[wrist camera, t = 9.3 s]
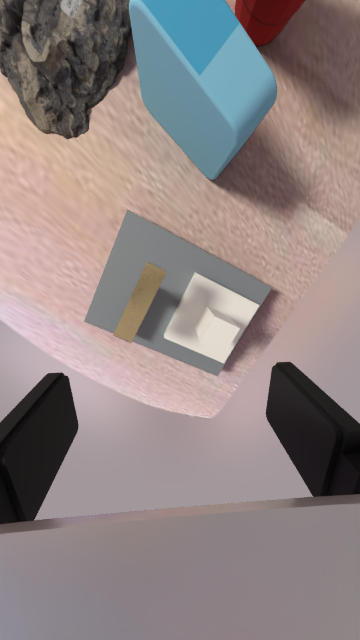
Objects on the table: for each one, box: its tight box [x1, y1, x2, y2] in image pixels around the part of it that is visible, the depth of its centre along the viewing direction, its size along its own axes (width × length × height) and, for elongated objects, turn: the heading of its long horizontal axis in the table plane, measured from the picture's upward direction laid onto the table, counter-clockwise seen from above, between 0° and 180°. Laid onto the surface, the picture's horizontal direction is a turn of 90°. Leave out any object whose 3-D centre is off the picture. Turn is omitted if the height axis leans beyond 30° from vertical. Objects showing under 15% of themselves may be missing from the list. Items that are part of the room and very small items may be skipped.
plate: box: [84, 209, 272, 376], centre depth 31 cm, size 22×16×3 cm
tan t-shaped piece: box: [113, 261, 166, 343], centre depth 25 cm, size 11×2×9 cm, turn 152°
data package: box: [129, 0, 277, 180], centre depth 21 cm, size 12×4×12 cm, turn 47°
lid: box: [164, 272, 260, 363], centre depth 28 cm, size 10×10×6 cm
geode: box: [0, 0, 132, 139], centre depth 21 cm, size 19×4×15 cm
